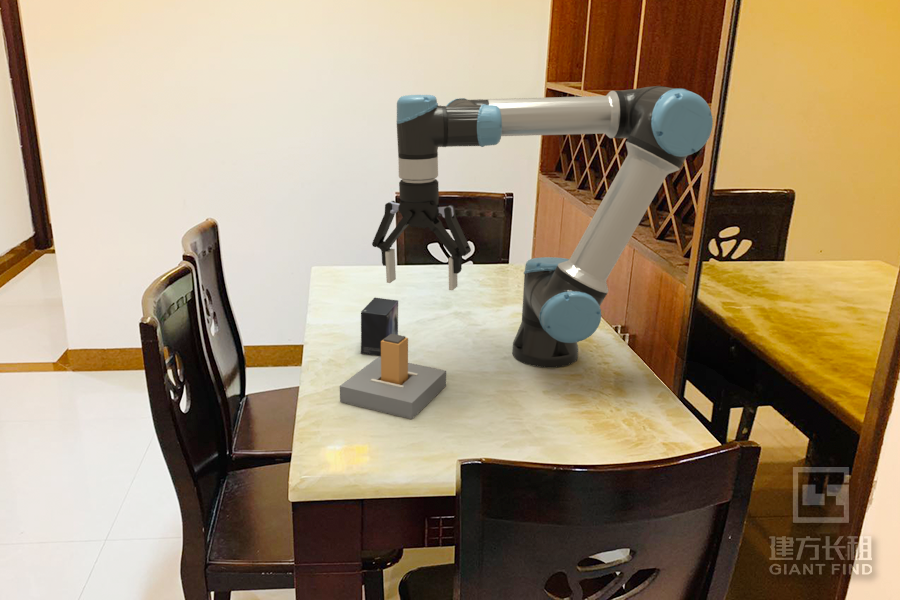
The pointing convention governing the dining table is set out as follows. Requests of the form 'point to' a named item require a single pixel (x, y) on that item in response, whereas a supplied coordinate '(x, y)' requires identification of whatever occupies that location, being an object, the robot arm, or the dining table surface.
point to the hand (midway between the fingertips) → (421, 284)
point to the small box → (378, 324)
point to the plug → (394, 359)
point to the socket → (393, 389)
